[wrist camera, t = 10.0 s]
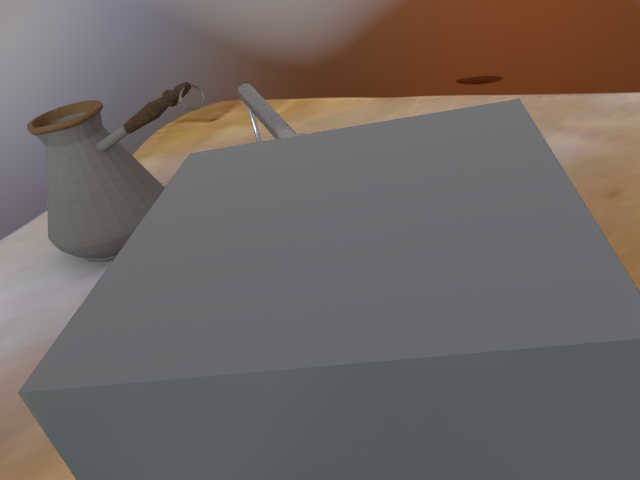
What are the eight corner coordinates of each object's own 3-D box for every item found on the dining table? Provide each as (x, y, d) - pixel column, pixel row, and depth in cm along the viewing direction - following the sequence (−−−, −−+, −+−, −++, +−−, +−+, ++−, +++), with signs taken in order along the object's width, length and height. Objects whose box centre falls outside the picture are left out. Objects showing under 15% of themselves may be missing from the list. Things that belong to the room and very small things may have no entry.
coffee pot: (37, 265, 54) (-47, 116, 47) (122, 205, 63) (63, 70, 55) (207, 299, 44) (135, 114, 36) (284, 221, 52) (238, 56, 44)
